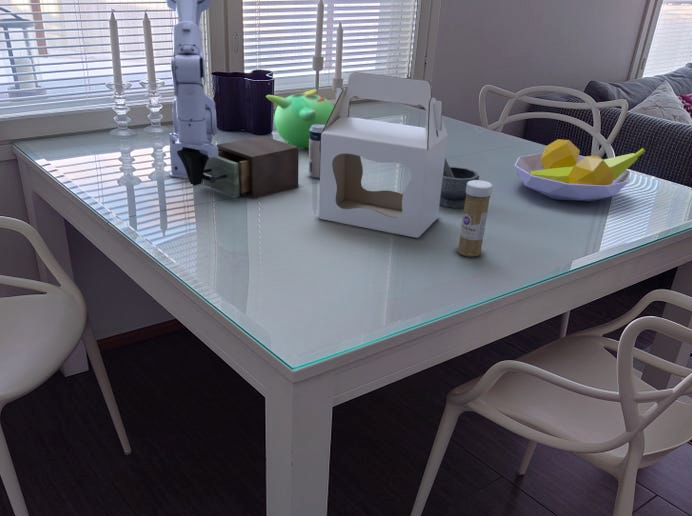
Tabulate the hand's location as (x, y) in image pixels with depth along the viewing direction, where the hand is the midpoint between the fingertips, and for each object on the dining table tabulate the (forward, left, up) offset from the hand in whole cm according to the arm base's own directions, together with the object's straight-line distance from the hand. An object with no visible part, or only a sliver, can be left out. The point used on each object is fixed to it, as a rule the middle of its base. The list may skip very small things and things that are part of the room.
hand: (195, 183), depth 148 cm
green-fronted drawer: (+5, +9, -3) cm, 10 cm away
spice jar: (+20, +27, -4) cm, 34 cm away
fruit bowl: (+80, +37, -4) cm, 88 cm away
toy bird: (+9, +52, -4) cm, 53 cm away
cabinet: (+9, +15, -4) cm, 18 cm away
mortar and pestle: (+53, +19, -4) cm, 56 cm away
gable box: (+40, +3, -4) cm, 40 cm away
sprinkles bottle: (+60, -9, -4) cm, 60 cm away
